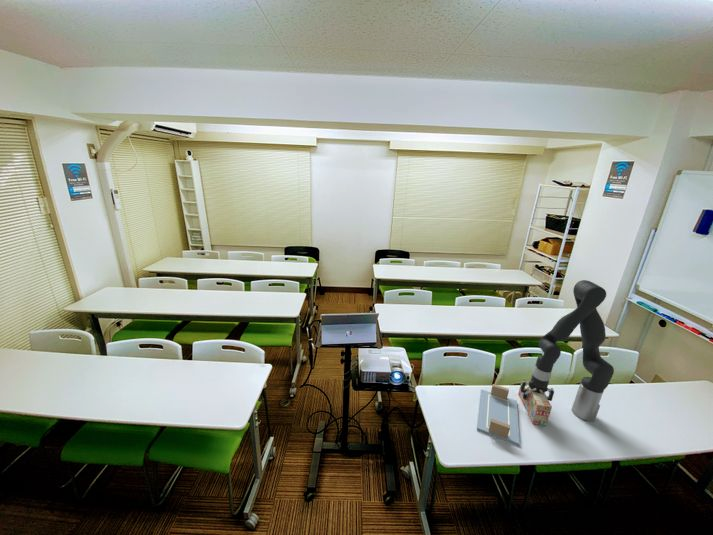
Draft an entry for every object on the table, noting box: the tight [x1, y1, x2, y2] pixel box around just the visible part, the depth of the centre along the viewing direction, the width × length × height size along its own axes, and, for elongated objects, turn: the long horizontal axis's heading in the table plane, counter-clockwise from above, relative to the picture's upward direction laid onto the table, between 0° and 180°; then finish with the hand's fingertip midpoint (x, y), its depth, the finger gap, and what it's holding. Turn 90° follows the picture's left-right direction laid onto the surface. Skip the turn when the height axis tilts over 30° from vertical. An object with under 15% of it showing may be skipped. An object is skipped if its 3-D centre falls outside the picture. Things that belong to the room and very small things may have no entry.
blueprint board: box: [476, 383, 521, 447], centre depth 146 cm, size 18×30×7 cm, turn 154°
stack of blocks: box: [517, 380, 553, 427], centre depth 150 cm, size 21×6×12 cm, turn 169°
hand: (533, 401), depth 150 cm, fingers open, 7 cm apart
